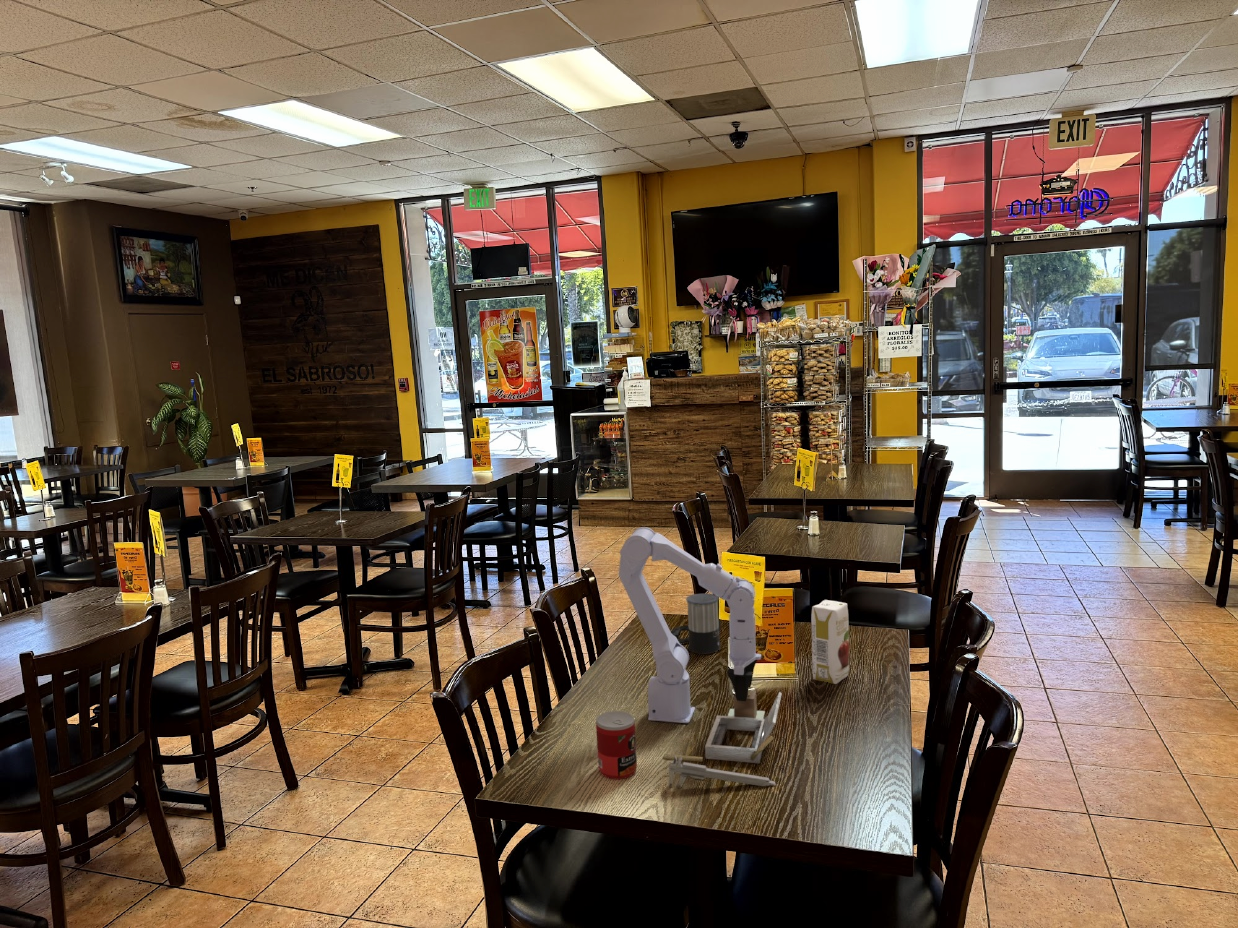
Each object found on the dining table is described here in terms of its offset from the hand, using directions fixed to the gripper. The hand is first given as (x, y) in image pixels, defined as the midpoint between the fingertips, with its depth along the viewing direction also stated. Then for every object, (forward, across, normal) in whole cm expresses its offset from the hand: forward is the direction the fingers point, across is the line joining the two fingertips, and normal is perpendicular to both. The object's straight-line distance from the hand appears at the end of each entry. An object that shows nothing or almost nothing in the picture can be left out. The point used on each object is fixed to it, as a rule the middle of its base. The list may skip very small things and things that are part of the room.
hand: (743, 693), depth 188 cm
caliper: (+6, -30, 0) cm, 31 cm away
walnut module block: (+6, 0, 0) cm, 6 cm away
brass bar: (+6, -21, +10) cm, 24 cm away
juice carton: (+6, +27, -18) cm, 33 cm away
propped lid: (+5, -13, -6) cm, 15 cm away
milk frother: (+6, +45, +20) cm, 50 cm away
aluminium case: (+6, -12, 0) cm, 14 cm away
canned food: (+6, -28, +22) cm, 36 cm away
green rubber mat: (+6, 0, 0) cm, 6 cm away
